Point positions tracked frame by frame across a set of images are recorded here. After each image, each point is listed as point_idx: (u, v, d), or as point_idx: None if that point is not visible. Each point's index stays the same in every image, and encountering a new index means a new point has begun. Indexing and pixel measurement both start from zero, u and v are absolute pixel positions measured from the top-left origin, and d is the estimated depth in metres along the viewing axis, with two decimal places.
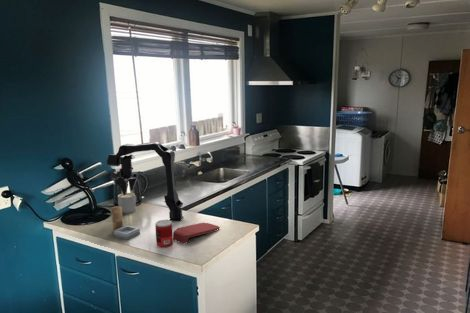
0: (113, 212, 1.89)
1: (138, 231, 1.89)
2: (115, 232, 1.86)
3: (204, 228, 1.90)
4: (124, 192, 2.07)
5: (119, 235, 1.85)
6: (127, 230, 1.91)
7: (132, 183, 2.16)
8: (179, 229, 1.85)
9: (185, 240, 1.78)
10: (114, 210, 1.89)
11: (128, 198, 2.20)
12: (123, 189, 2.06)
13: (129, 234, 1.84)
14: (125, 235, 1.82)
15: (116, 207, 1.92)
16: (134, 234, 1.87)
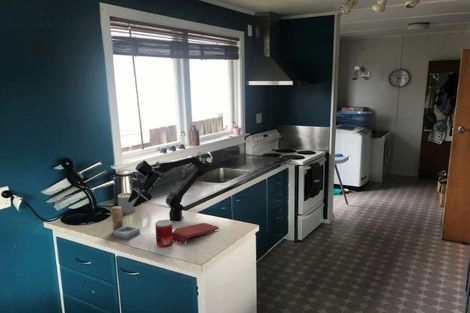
0: (113, 212, 1.89)
1: (138, 231, 1.89)
2: (115, 232, 1.86)
3: (204, 229, 1.89)
4: (136, 204, 1.91)
5: (119, 235, 1.85)
6: (127, 230, 1.91)
7: (134, 196, 2.01)
8: (178, 229, 1.85)
9: (184, 240, 1.77)
10: (114, 210, 1.89)
11: (128, 198, 2.20)
12: (138, 201, 1.91)
13: (129, 234, 1.84)
14: (125, 235, 1.82)
15: (116, 207, 1.92)
16: (134, 234, 1.87)
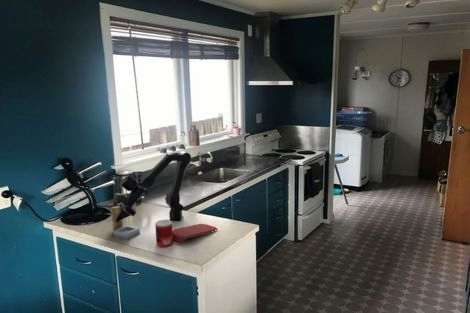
0: (113, 212, 1.89)
1: (138, 231, 1.89)
2: (115, 232, 1.86)
3: (202, 230, 1.88)
4: (119, 219, 1.89)
5: (119, 235, 1.85)
6: (127, 230, 1.91)
7: None
8: (176, 230, 1.84)
9: (182, 241, 1.76)
10: (114, 210, 1.89)
11: None
12: (121, 216, 1.89)
13: (129, 234, 1.84)
14: (125, 235, 1.82)
15: (116, 207, 1.92)
16: (134, 234, 1.87)
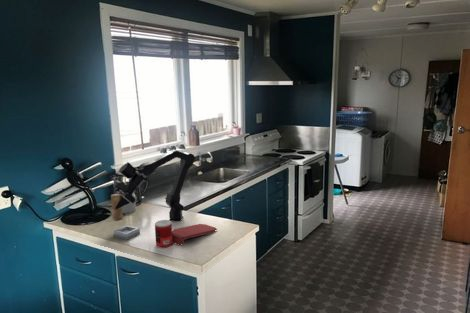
0: (113, 199, 1.88)
1: (138, 231, 1.89)
2: (115, 232, 1.86)
3: (201, 230, 1.88)
4: (118, 207, 1.88)
5: (119, 235, 1.85)
6: (127, 230, 1.91)
7: None
8: (175, 230, 1.83)
9: (181, 241, 1.76)
10: (114, 197, 1.87)
11: None
12: (121, 204, 1.88)
13: (129, 234, 1.84)
14: (125, 235, 1.82)
15: (115, 195, 1.90)
16: (134, 234, 1.87)
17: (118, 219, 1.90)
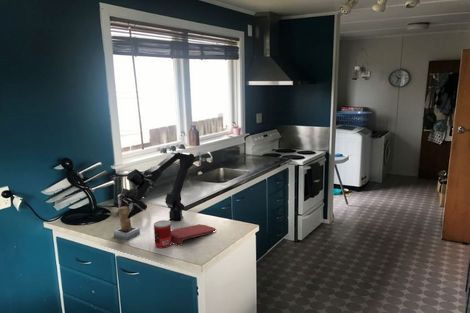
0: (121, 213, 1.83)
1: (138, 231, 1.89)
2: (115, 232, 1.86)
3: (200, 230, 1.87)
4: (131, 216, 1.83)
5: (119, 235, 1.85)
6: None
7: None
8: (174, 231, 1.83)
9: (180, 242, 1.76)
10: (122, 211, 1.83)
11: None
12: (133, 212, 1.83)
13: (129, 234, 1.84)
14: (125, 235, 1.82)
15: (123, 207, 1.86)
16: (134, 234, 1.87)
17: None
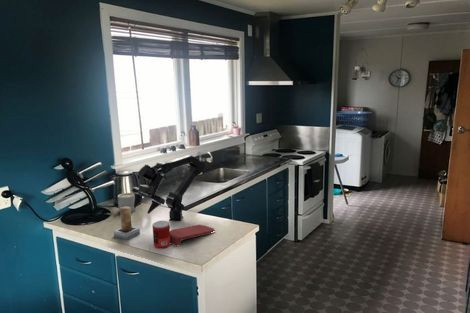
0: (123, 212, 1.84)
1: (138, 231, 1.89)
2: (115, 232, 1.86)
3: (199, 231, 1.86)
4: (150, 211, 1.92)
5: (119, 235, 1.85)
6: None
7: (138, 200, 1.97)
8: (173, 231, 1.83)
9: (178, 242, 1.75)
10: (124, 210, 1.84)
11: (128, 198, 2.20)
12: (152, 207, 1.92)
13: (129, 234, 1.84)
14: (125, 235, 1.82)
15: (125, 207, 1.86)
16: (134, 234, 1.87)
17: None
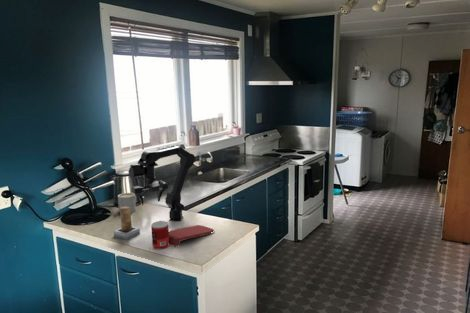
0: (123, 212, 1.84)
1: (138, 231, 1.89)
2: (115, 232, 1.86)
3: (198, 231, 1.86)
4: None
5: (119, 235, 1.85)
6: None
7: None
8: (172, 231, 1.82)
9: (177, 243, 1.75)
10: (124, 210, 1.84)
11: (128, 198, 2.20)
12: None
13: (129, 234, 1.84)
14: (125, 235, 1.82)
15: (125, 207, 1.86)
16: (134, 234, 1.87)
17: None
